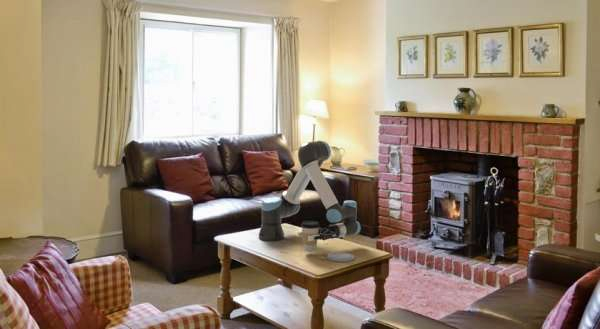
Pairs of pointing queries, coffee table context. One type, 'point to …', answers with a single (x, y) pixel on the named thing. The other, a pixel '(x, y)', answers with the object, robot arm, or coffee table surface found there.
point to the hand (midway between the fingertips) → (303, 236)
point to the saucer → (340, 257)
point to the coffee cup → (309, 234)
